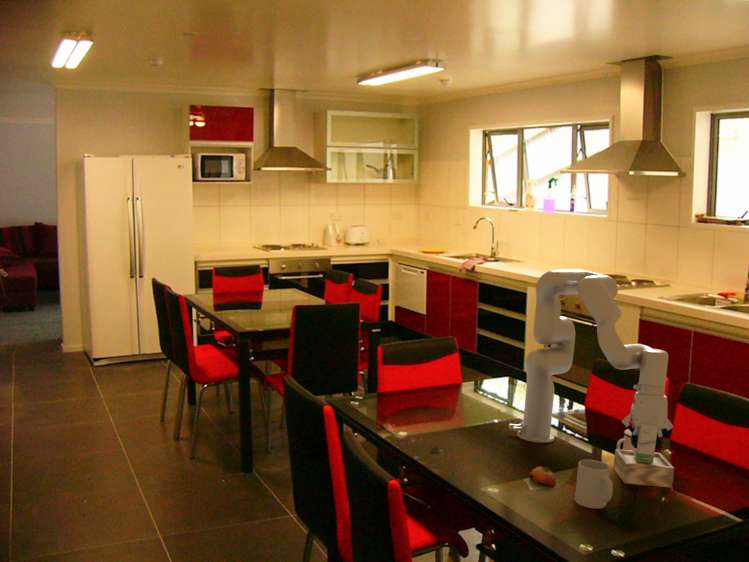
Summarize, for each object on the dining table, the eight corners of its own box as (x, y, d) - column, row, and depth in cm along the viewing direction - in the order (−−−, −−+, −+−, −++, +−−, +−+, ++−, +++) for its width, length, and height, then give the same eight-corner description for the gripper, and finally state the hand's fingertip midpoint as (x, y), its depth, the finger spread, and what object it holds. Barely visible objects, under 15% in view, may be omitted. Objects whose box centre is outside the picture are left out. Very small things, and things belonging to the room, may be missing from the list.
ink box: (633, 453, 252) (637, 416, 250) (650, 455, 251) (654, 418, 249) (636, 461, 243) (640, 423, 242) (654, 464, 242) (658, 425, 241)
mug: (568, 498, 225) (572, 460, 224) (592, 495, 229) (596, 458, 228) (596, 515, 215) (600, 475, 213) (621, 512, 218) (625, 473, 217)
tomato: (552, 485, 230) (539, 462, 233) (532, 496, 233) (520, 473, 236) (563, 483, 237) (550, 460, 240) (544, 493, 240) (532, 471, 243)
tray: (624, 483, 241) (626, 463, 240) (613, 467, 255) (615, 449, 254) (671, 487, 240) (674, 468, 240) (658, 471, 254) (660, 452, 253)
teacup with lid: (639, 455, 269) (643, 421, 268) (656, 464, 261) (660, 429, 259) (607, 456, 266) (611, 421, 265) (623, 465, 257) (627, 430, 256)
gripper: (625, 390, 241) (619, 449, 243) (684, 395, 240) (677, 454, 242) (619, 384, 249) (613, 441, 251) (676, 389, 248) (669, 446, 250)
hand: (644, 447), depth 247 cm, fingers closed on ink box, 5 cm apart
